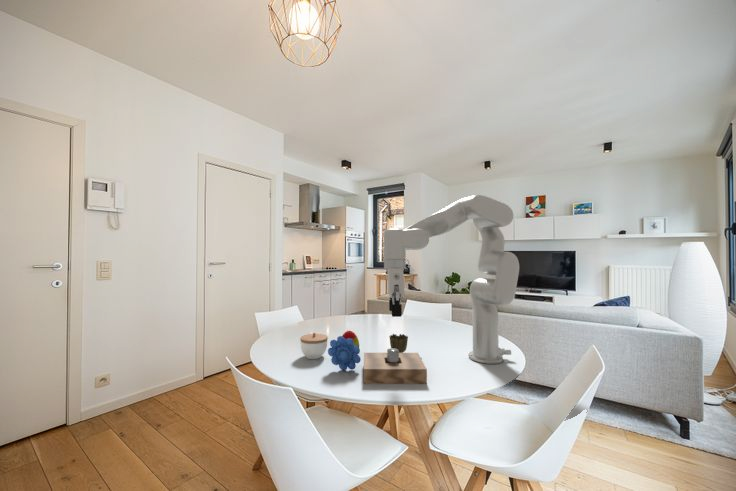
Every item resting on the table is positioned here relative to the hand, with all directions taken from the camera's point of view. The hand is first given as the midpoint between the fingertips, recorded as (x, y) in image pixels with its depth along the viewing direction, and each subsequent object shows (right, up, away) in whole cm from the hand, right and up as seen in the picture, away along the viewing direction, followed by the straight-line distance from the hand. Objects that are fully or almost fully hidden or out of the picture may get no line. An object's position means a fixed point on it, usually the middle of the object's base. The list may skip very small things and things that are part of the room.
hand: (395, 313), depth 104 cm
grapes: (-18, -21, +1) cm, 27 cm away
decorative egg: (-17, -21, +17) cm, 32 cm away
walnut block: (-1, -20, -1) cm, 20 cm away
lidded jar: (-31, -21, +15) cm, 40 cm away
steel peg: (-1, -20, -1) cm, 20 cm away
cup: (+3, -21, +17) cm, 27 cm away
